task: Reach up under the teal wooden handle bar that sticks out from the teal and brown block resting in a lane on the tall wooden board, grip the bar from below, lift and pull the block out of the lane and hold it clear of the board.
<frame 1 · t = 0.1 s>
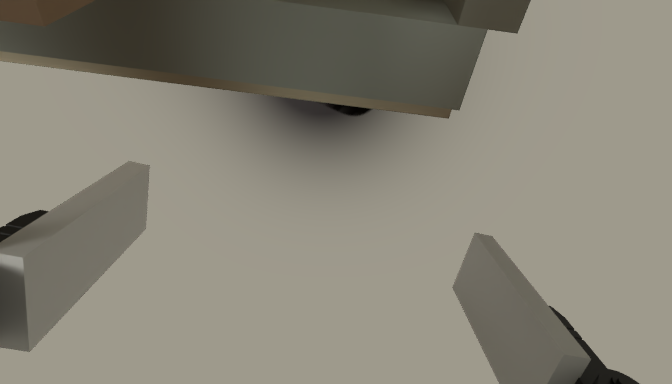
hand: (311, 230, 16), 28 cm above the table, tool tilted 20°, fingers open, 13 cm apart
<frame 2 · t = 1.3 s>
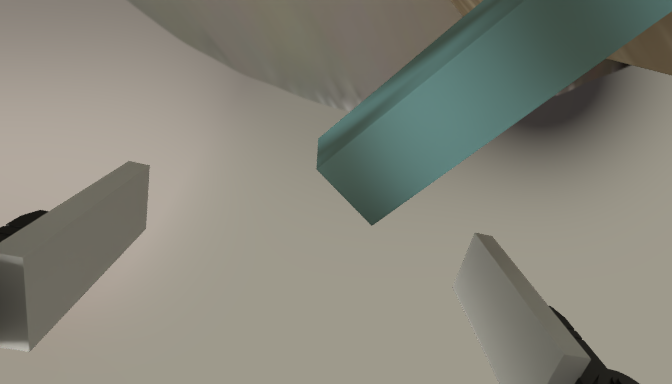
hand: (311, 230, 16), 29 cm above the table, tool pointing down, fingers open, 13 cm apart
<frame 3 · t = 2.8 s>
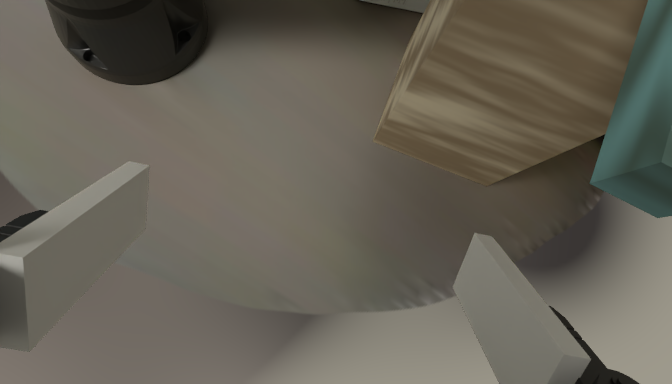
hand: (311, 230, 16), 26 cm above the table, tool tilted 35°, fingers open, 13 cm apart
wooden board: (446, 110, 46), on the table
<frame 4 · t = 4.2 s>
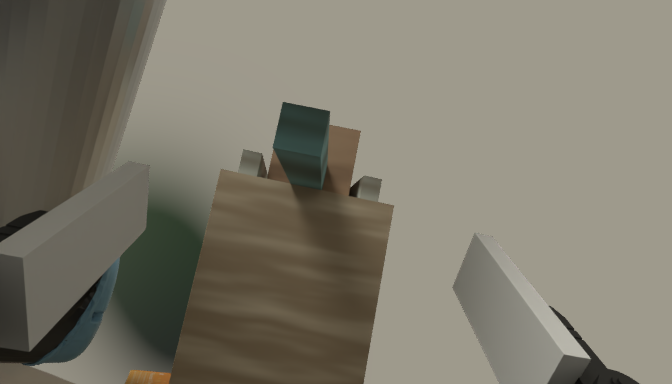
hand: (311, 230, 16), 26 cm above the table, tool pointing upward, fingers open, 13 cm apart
teal and brown block: (308, 196, 36), point 30 cm above the table, touching wooden board
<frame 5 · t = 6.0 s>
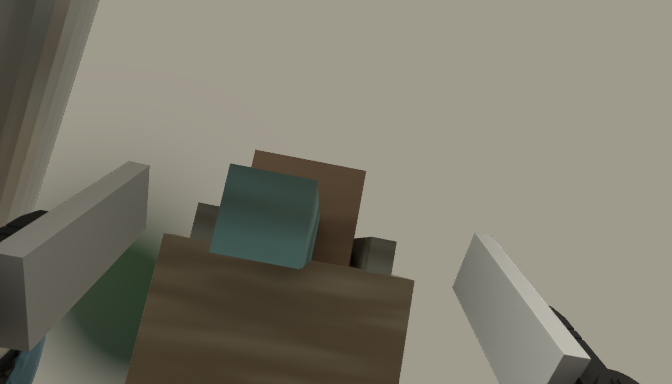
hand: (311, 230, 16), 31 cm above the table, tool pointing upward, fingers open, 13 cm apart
teal and brown block: (295, 256, 27), point 30 cm above the table, touching wooden board
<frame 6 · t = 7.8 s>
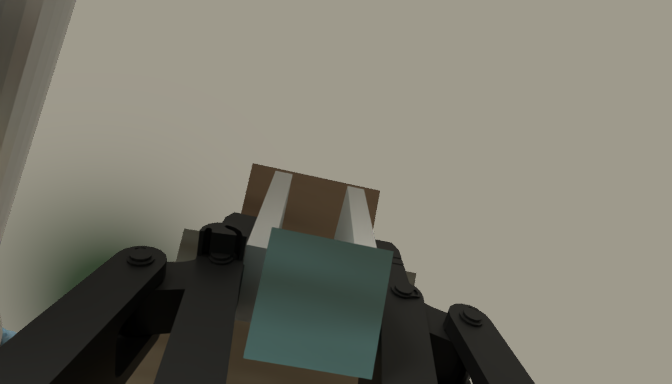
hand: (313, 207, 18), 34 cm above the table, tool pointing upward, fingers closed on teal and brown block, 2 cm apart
teal and brown block: (293, 282, 24), point 30 cm above the table, touching wooden board, gripper
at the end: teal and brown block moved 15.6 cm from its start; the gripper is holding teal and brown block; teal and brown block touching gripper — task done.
